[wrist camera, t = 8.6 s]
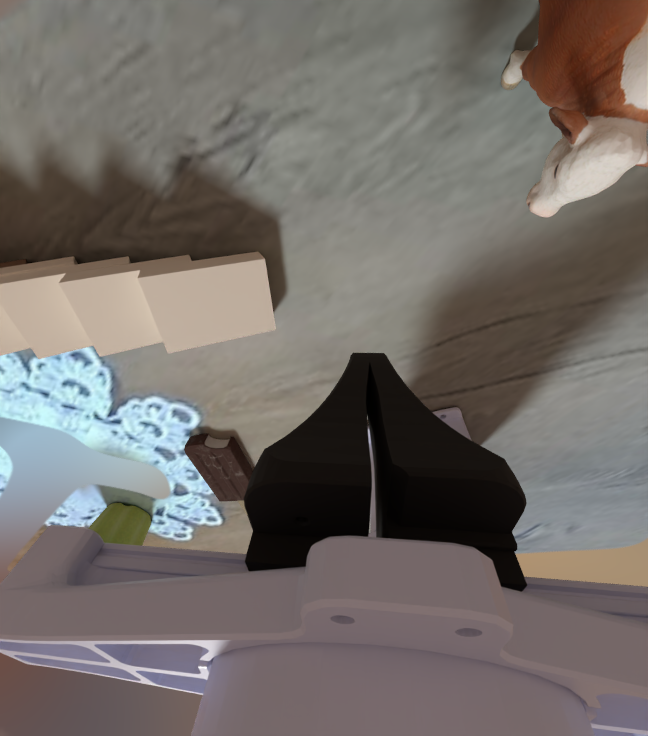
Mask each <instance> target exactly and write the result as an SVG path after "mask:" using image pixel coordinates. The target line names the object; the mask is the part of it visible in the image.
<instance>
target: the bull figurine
mask: <svg viewBox="0 0 648 736" xmlns="http://www.w3.org/2000/svg"><path fill="white" fill-rule="evenodd" d="M539 3H540V15H539V30H538V45H537V46H536V47H535V48H534V49H532V50H531V51H530V50H526V51H520V50H515V51H514V52H513V53H512V54H511V59H510V63H509V65H508V66H507V67H506V69H505V70H504V71H503V73H502V77H501V85H502V87H503V88H504V89H506V90H512V89H514V88H515V87H516V86H517V85H518V84H519V83H520V81H521V80H522V78H523V79H524V80H526V81H529V83H530V86H531V87H532V88H533V89H534V90H535V91H536V92H537V95H538V97H539V98H540V100H541V101H542V102H543V103H545V104H546V105H548V106H550V107H553V108H551V109H550V110H549V116H550V119H551V121H552V122H553V123H554V125H555V126H557V127H558V128H559V129H560V130H561V131H562V137H563V138H562V139H561V140H560V141H558V142H557V143H556V145H555V146H554V147H553V149H552V150H551V152H550V154H549V155H548V157H547V159H546V162H545V166H544V169H543V173H542V177H541V180H540V181H539V182H538V183H537V184H535V185H534V186H533V188H532V189H531V190H530V192H529V194H528V196H527V205H528V206H529V208H530V211H531V212H532V213H534V214H536V215H539V216H541V217H551V216H553V215H554V214H555V213H557V212H558V211H559V209H560V208H561V206H563V205H565V204H567V203H570V202H573V201H577V200H580V199H583V198H587V197H590V196H593V195H595V194H598V193H599V192H601V191H603V190H604V189H606V188H608V187H610V186H611V185H613V184H614V183H615V182H617V181H618V179H619V178H620V177H621V176H622V175H623V174H624V173H625V172H626V171H627V170H628V169H630V168H632V167H633V166H635V165H637V166H644V167H648V145H647V143H646V133H647V129H648V0H539Z"/></svg>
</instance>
